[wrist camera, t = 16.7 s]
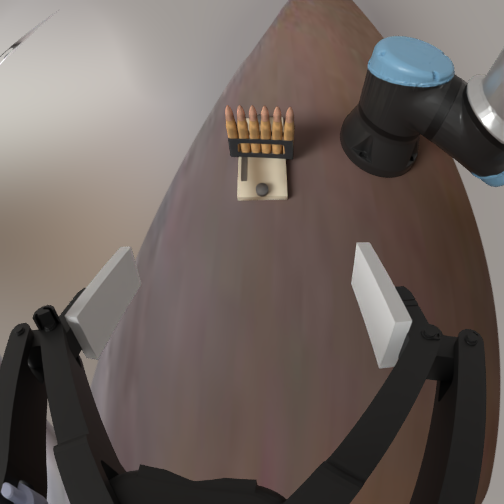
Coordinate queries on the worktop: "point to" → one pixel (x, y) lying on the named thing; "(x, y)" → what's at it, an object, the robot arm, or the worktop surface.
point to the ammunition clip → (260, 134)
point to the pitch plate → (262, 176)
